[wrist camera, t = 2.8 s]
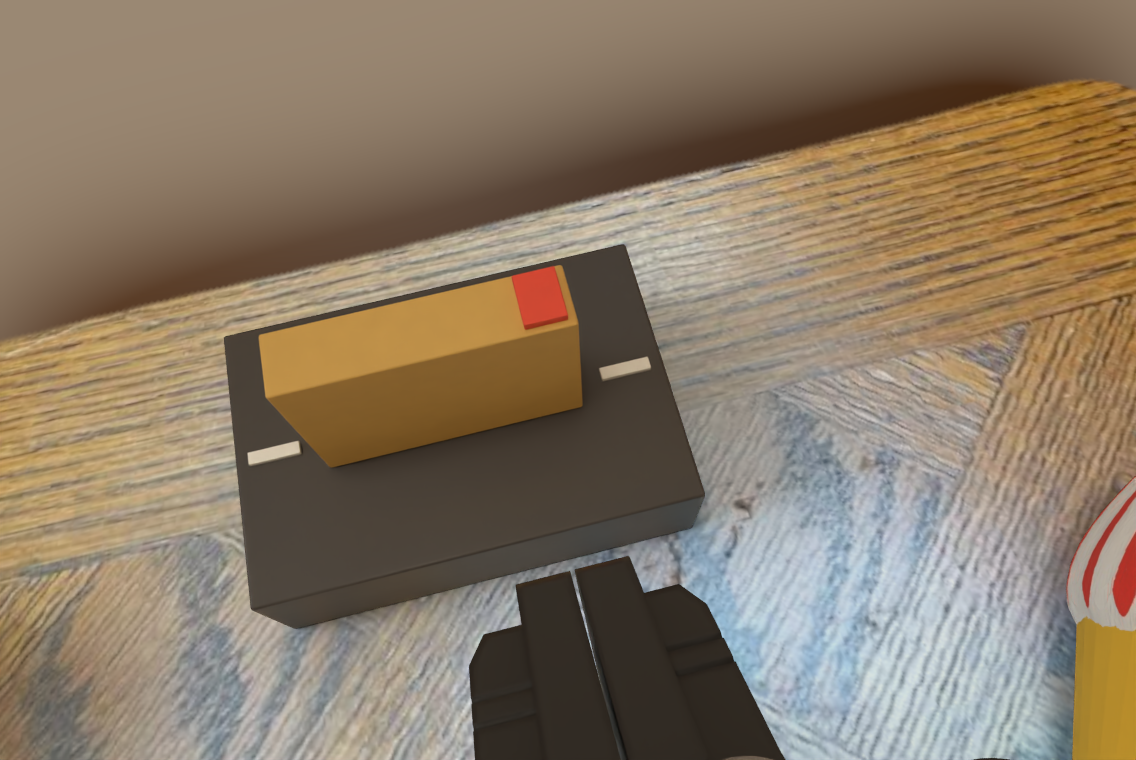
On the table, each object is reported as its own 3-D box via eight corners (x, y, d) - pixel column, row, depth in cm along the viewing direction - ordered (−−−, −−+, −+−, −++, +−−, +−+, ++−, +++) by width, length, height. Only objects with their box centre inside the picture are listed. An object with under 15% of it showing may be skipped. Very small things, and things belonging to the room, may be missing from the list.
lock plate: (294, 630, 25) (247, 609, 22) (265, 383, 29) (220, 333, 25) (693, 528, 26) (707, 493, 23) (622, 299, 29) (624, 239, 26)
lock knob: (329, 468, 24) (260, 394, 19) (322, 415, 24) (253, 329, 19) (583, 407, 24) (578, 318, 19) (569, 356, 25) (561, 257, 20)
